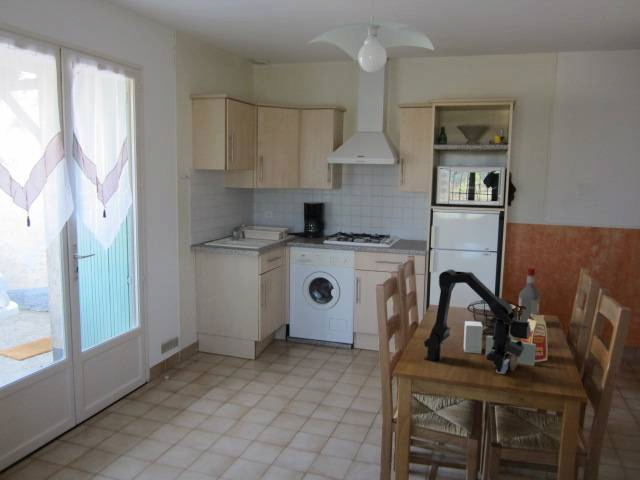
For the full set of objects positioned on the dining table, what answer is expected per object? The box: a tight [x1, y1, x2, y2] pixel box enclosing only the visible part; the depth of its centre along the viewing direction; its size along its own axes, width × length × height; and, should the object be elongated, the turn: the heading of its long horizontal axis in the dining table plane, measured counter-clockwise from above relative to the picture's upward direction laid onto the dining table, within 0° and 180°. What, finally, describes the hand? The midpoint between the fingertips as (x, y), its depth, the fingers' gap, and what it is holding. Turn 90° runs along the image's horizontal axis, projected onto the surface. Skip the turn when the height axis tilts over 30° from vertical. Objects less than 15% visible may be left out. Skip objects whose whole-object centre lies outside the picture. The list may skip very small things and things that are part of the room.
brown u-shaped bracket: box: [492, 352, 518, 372], centre depth 218 cm, size 7×8×5 cm
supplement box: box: [463, 320, 484, 354], centre depth 235 cm, size 7×7×13 cm
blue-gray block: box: [495, 359, 510, 375], centre depth 214 cm, size 9×3×3 cm, turn 147°
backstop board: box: [485, 335, 536, 367], centre depth 224 cm, size 2×20×9 cm, turn 58°
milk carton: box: [520, 314, 548, 363], centre depth 226 cm, size 9×9×20 cm
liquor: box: [517, 267, 541, 321], centre depth 274 cm, size 9×9×30 cm
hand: (499, 371), depth 209 cm, fingers closed
